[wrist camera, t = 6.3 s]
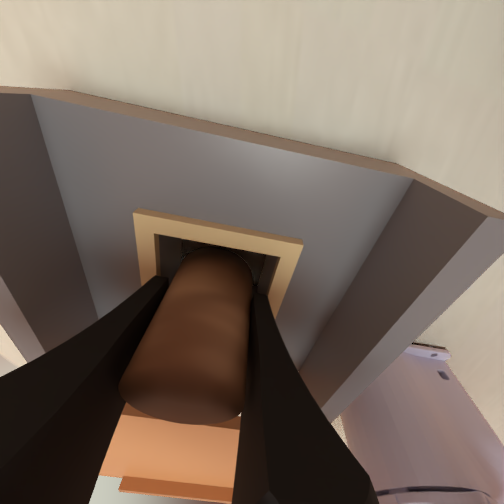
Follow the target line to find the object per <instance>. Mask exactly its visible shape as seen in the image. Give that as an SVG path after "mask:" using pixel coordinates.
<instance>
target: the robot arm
mask: <svg viewBox="0 0 504 504" xmlns="http://www.w3.org/2000/svg"><path fill="white" fill-rule="evenodd" d="M168 287H169V278H168V277H162V276H157V275H155V276H153V277H152V278H151V279H150V280H149V281H147V282H146V283H145V284H144V285H143V286H142V287H140V288H139V289H138V290H137V291H136V292H134V293H133V294H132V295H131V296H129V297H128V298H127V299H126V300H124V301H123V302H122V303H120V304H119V305H118V306H117V307H115V308H114V309H113V310H111V311H110V312H109V313H107V314H106V315H104V316H103V317H102V318H100V319H99V320H97V321H96V322H95V323H93V324H92V325H90V326H89V327H87V328H86V329H84V330H83V331H81V332H80V333H78V334H77V335H75V336H73V337H72V338H70V339H69V340H67V341H65V342H64V343H62V344H60V345H59V346H57V347H55V348H53V349H52V350H50V351H48V352H47V353H45V354H43V355H41V356H40V357H38V358H36V359H34V360H32V361H31V362H29V363H27V364H25V365H23V366H21V367H19V368H17V369H15V370H14V371H11V372H9V373H8V374H6V375H4V376H2V377H0V504H89V501H90V498H91V495H92V493H93V490H94V487H95V484H96V481H97V478H98V476H99V473H100V470H101V467H102V464H103V462H104V459H105V456H106V453H107V451H108V448H109V445H110V443H111V440H112V437H113V435H114V432H115V429H116V427H117V424H118V422H119V419H120V416H121V414H122V411H123V409H124V406H125V404H126V401H125V400H124V399H123V398H122V397H121V395H120V393H119V389H118V385H119V382H120V380H121V378H122V376H123V374H124V372H125V370H126V368H127V366H128V365H129V363H130V361H131V359H132V357H133V355H134V353H135V351H136V349H137V347H138V345H139V343H140V341H141V339H142V338H143V336H144V334H145V332H146V330H147V328H148V326H149V324H150V322H151V320H152V318H153V316H154V314H155V312H156V311H157V309H158V307H159V305H160V303H161V301H162V299H163V297H164V295H165V293H166V291H167V289H168ZM450 357H451V354H450V353H449V351H448V350H444V349H438V348H432V347H426V346H420V345H414V344H411V345H410V346H409V347H408V348H407V349H406V350H405V351H404V352H403V353H402V354H401V355H400V356H399V357H398V358H397V359H395V360H394V361H393V362H392V363H391V364H390V365H389V366H388V367H387V368H386V369H385V370H384V371H383V372H382V373H381V374H380V375H379V376H378V377H377V378H376V379H375V380H374V381H373V382H372V383H371V384H370V385H369V386H368V387H367V388H366V389H365V390H364V391H363V392H362V393H361V394H360V395H359V396H358V397H357V398H356V399H355V400H354V401H353V402H352V403H351V404H350V405H349V406H348V407H347V408H346V409H345V410H344V411H343V412H342V413H341V414H340V415H341V419H342V423H343V428H344V432H345V436H346V440H347V444H348V447H347V446H346V445H345V443H344V442H343V440H342V439H341V438H340V436H339V435H338V433H337V432H336V431H335V429H334V428H333V426H332V425H331V424H330V422H329V421H328V419H327V418H326V416H325V415H324V413H323V411H322V410H321V408H320V407H319V405H318V404H317V402H316V401H315V399H314V398H313V396H312V395H311V393H310V391H309V390H308V388H307V386H306V384H305V383H304V381H303V379H302V377H301V376H300V374H299V372H298V370H297V368H296V366H295V364H294V363H293V360H292V358H291V356H290V354H289V352H288V350H287V348H286V346H285V344H284V341H283V339H282V337H281V334H280V332H279V329H278V327H277V324H276V321H275V318H274V316H273V313H272V310H271V306H270V303H269V299H268V296H267V295H266V294H260V293H254V294H253V297H252V301H251V312H250V328H249V343H248V358H247V373H246V388H245V403H244V409H243V410H242V412H241V422H240V432H239V441H238V451H237V460H236V469H235V478H234V487H233V495H232V503H231V504H504V446H503V445H502V443H501V441H500V440H499V438H498V437H497V435H496V434H495V432H494V431H493V429H492V428H491V426H490V425H489V424H488V422H487V421H486V419H485V418H484V416H483V415H482V414H481V412H480V411H479V409H478V408H477V406H476V405H475V403H474V402H473V401H472V399H471V398H470V396H469V395H468V393H467V392H466V391H465V389H464V388H463V386H462V385H461V383H460V382H459V381H458V379H457V378H456V376H455V375H454V373H453V372H452V371H451V369H450V368H449V366H448V365H447V363H446V362H445V361H446V360H447V359H449V358H450ZM348 448H349V449H348Z"/></svg>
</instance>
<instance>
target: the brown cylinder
mask: <svg viewBox="0 0 504 504" xmlns="http://www.w3.org/2000/svg"><path fill="white" fill-rule="evenodd" d="M252 283H253V276H252V272H251V269H250V267H249V265H248V264H247V263H246V262H245V261H244V259H242V258H241V257H240V256H239V255H237V254H236V253H234V252H232V251H229V250H227V249H223V248H218V247H204V248H200V249H197V250H194V251H192V252H191V253H189V254H188V255H187V256H186V257H185V258H184V259H183V260H182V262H181V264H180V266H179V268H178V270H177V272H176V274H175V276H174V278H173V280H172V282H171V284H170V285H169V287H168V289H167V291H166V293H165V295H164V297H163V299H162V301H161V303H160V305H159V307H158V309H157V311H156V312H155V314H154V316H153V318H152V320H151V322H150V324H149V326H148V328H147V330H146V332H145V334H144V336H143V338H142V339H141V341H140V343H139V345H138V347H137V349H136V351H135V353H134V355H133V357H132V359H131V361H130V363H129V365H128V366H127V368H126V370H125V372H124V374H123V376H122V378H121V380H120V382H119V385H118V389H119V393H120V395H121V397H122V398H123V399H124V400H125V401H126V402H127V403H128V404H129V405H131V406H132V407H133V408H135V409H137V410H139V411H140V412H142V413H145V414H147V415H149V416H152V417H155V418H158V419H161V420H165V421H169V422H174V423H180V424H190V425H208V424H216V423H222V422H225V421H228V420H231V419H233V418H235V417H236V416H238V415H239V414H240V413H241V412H242V410H243V409H244V403H245V388H246V373H247V358H248V343H249V328H250V312H251V298H252Z"/></svg>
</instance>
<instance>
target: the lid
mask: <svg viewBox="0 0 504 504" xmlns="http://www.w3.org/2000/svg"><path fill="white" fill-rule="evenodd" d="M240 422H241V417H239V416H236V417H235V418H233V419H231V420H228V421H225V422H222V423H216V424H208V425H190V424H180V423H174V422H169V421H165V420H161V419H158V418H155V417H152V416H149V415H147V414H145V413H142V412H140V411H139V410H137V409H135V408H133V407H132V406H131V405H129V404H128V403H127V402H126V404H125V406H124V409H123V411H122V414H121V416H120V419H119V422H118V424H117V427H116V429H115V432H114V435H113V437H112V440H111V443H110V445H109V448H108V451H107V453H106V456H105V459H104V462H103V464H102V467H101V470H100V473H99V475H102V476H110V477H119V478H123V479H122V481H121V484H120V487H119V491H120V492H127V493H137V494H145V495H155V496H164V497H173V498H184V499H192V500H202V501H211V502H220V503H229V504H231V503H232V495H233V487H234V478H235V469H236V460H237V451H238V441H239V432H240Z"/></svg>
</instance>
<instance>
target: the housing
mask: <svg viewBox="0 0 504 504" xmlns="http://www.w3.org/2000/svg"><path fill="white" fill-rule="evenodd" d="M182 239H187V240H192V241H198V242H203V243H209V244H214V245H219V246H225V247H230V248H235V249H241V250H246V251H251V252H257V253H262V254H266V258H265V261H264V265H263V269H262V272H261V276H260V279H259V283H258V286H253V285H252V297H253V294H254V293H260V294H266V295H267V296H268V299H269V303H270V306H271V310H272V313H273V316H274V318H275V321H276V324H277V327H278V329H279V332H280V334H281V337H282V339H283V341H284V344H285V346H286V348H287V350H288V352H289V354H290V356H291V358H292V360H293V363H294V364H295V366H296V368H297V370H298V371H299V374H300V376H301V377H302V379H303V381H304V383H305V384H306V386H307V388H308V390H309V391H310V393H311V395H312V396H313V398H314V399H315V401H316V402H317V404H318V405H319V407H320V408H321V410H322V411H323V413H324V415H325V416H326V418H327V419H328V421H329V422H330V424H331V423H332V422H333V421H334V420H335V419H336V418H337V417H338V416H339V415H340V414H341V413H342V412H343V411H344V410H345V409H346V408H347V407H348V406H349V405H350V404H351V403H352V402H353V401H354V400H355V399H356V398H357V397H358V396H359V395H360V394H361V393H362V392H363V391H364V390H365V389H366V388H367V387H368V386H369V385H370V384H371V383H372V382H373V381H374V380H375V379H376V378H377V377H378V376H379V375H380V374H381V373H382V372H383V371H384V370H385V369H386V368H387V367H388V366H389V365H390V364H391V363H392V362H393V361H394V360H395V359H397V358H398V357H399V356H400V355H401V354H402V353H403V352H404V351H405V350H406V349H407V348H408V347H409V346H410V345H411V344H412V343H413V342H414V341H415V340H416V339H417V338H418V337H419V336H420V335H421V334H422V333H423V332H424V331H425V330H426V329H427V328H428V327H429V326H430V325H431V324H432V323H433V322H434V321H435V320H436V319H437V318H438V317H439V316H440V315H441V314H442V313H443V312H444V311H445V310H446V309H447V308H448V307H449V306H450V305H451V304H452V303H453V302H454V301H455V300H456V299H457V298H458V297H459V296H460V295H461V294H462V293H463V292H464V291H465V290H467V289H468V288H469V287H470V286H471V285H472V284H473V283H474V282H475V281H476V280H477V279H478V278H479V277H480V276H481V275H482V274H483V273H484V272H485V271H486V270H487V269H488V268H489V267H490V266H491V265H492V264H493V263H494V262H495V261H496V260H497V259H498V258H499V257H500V256H501V255H502V254H503V253H504V213H503V212H501V211H498V210H496V209H494V208H492V207H490V206H488V205H485V204H483V203H481V202H479V201H477V200H475V199H472V198H470V197H468V196H466V195H464V194H462V193H459V192H457V191H455V190H453V189H451V188H449V187H446V186H444V185H442V184H440V183H438V182H436V181H433V180H431V179H429V178H427V177H425V176H423V175H420V174H418V173H416V172H414V171H412V170H410V169H407V168H405V167H403V166H401V165H399V164H396V163H391V162H387V161H382V160H378V159H373V158H369V157H364V156H360V155H356V154H351V153H347V152H342V151H338V150H333V149H329V148H324V147H320V146H315V145H311V144H307V143H302V142H298V141H293V140H289V139H284V138H280V137H275V136H271V135H266V134H262V133H258V132H253V131H249V130H244V129H240V128H235V127H231V126H226V125H222V124H217V123H213V122H209V121H204V120H200V119H195V118H191V117H186V116H182V115H177V114H173V113H168V112H164V111H159V110H155V109H151V108H146V107H142V106H137V105H133V104H128V103H124V102H119V101H115V100H110V99H106V98H102V97H97V96H93V95H88V94H84V93H79V92H75V91H70V90H56V89H40V88H24V87H8V86H0V324H1V326H2V327H3V328H4V330H5V331H6V333H7V334H8V336H9V337H10V338H11V340H12V341H13V343H14V344H15V346H16V347H17V348H18V350H19V351H20V353H21V354H22V356H23V357H24V359H25V360H26V361H27V363H29V362H31V361H32V360H34V359H36V358H38V357H40V356H41V355H43V354H45V353H47V352H48V351H50V350H52V349H53V348H55V347H57V346H59V345H60V344H62V343H64V342H65V341H67V340H69V339H70V338H72V337H73V336H75V335H77V334H78V333H80V332H81V331H83V330H84V329H86V328H87V327H89V326H90V325H92V324H93V323H95V322H96V321H97V320H99V319H100V318H102V317H103V316H104V315H106V314H107V313H109V312H110V311H111V310H113V309H114V308H115V307H117V306H118V305H119V304H120V303H122V302H123V301H124V300H126V299H127V298H128V297H129V296H131V295H132V294H133V293H134V292H136V291H137V290H138V289H139V288H140V287H142V286H143V285H144V284H145V283H146V282H147V281H149V280H150V279H151V278H152V277H153V276H155V275H157V276H162V277H168V278H169V285H170V284H171V282H172V280H173V278H174V276H175V274H176V272H177V270H178V268H179V266H180V264H181V250H182ZM251 301H252V298H251Z"/></svg>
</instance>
